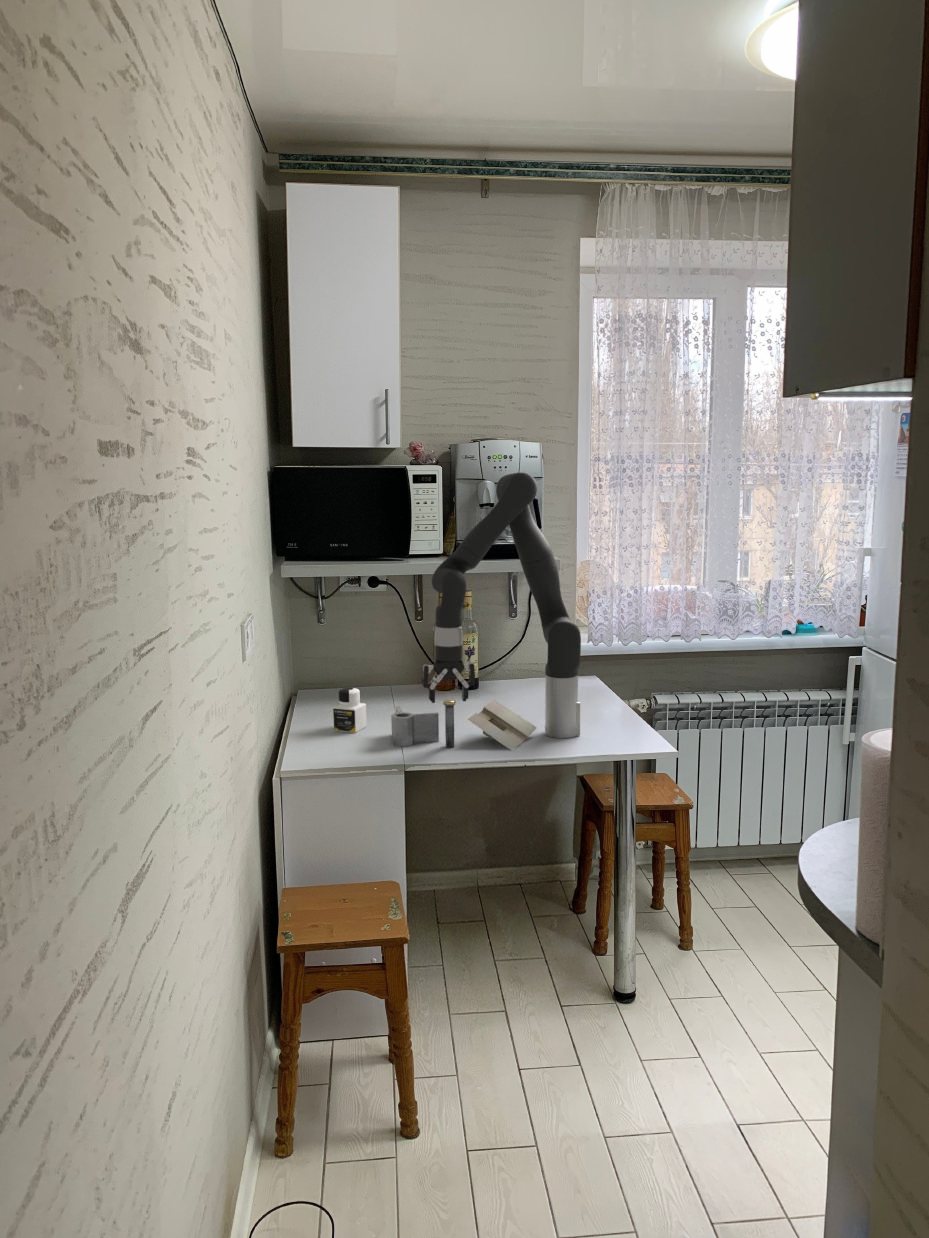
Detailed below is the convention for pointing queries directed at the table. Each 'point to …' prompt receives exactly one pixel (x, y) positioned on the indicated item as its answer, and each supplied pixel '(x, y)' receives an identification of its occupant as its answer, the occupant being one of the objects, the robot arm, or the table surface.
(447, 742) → the pin
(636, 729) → the table surface
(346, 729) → the medicine bottle
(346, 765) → the table surface
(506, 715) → the beige folded piece
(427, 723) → the hinge
